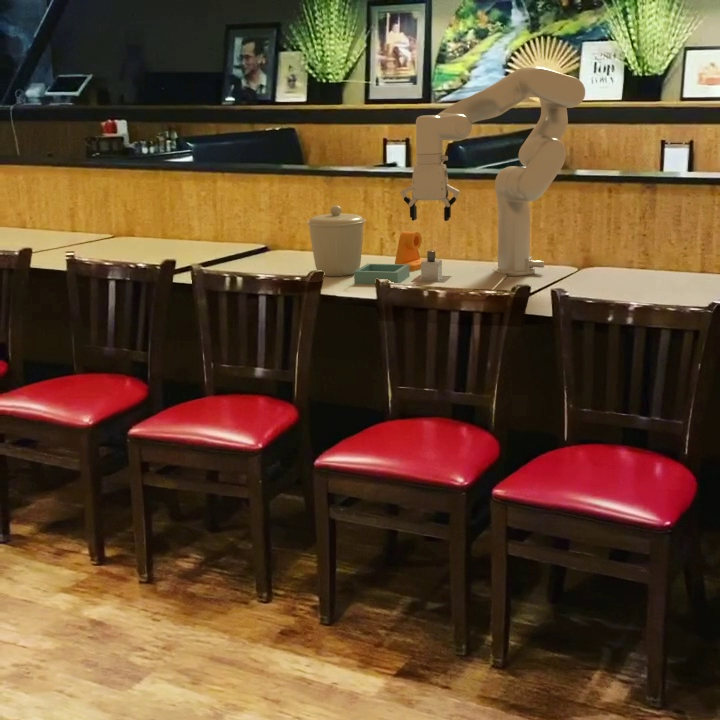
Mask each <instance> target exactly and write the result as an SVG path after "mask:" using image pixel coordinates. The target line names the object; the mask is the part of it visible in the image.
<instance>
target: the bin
mask: <svg viewBox="0 0 720 720" xmlns="http://www.w3.org/2000/svg"><path fill="white" fill-rule="evenodd" d="M410 273H411V272H410V270H409V265H407V264H395V263H366V264H364V265H363V266H360V268H359V269H358V270H356V271H354V274H353V277H354V285H358V284H359V285H376V284H375V279H376V278H378V279H388V280H390V281H391V282H394V283H400V284H401V283H403V282H404V281H405V280H407V279H408V278H409V277H410V275H411V274H410Z"/></svg>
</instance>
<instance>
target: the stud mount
mask: <svg viewBox="0 0 720 720" xmlns="http://www.w3.org/2000/svg"><path fill="white" fill-rule="evenodd" d="M452 277H453V275H442V278H441V279H439V280H438V281H434V280H421V274H420V275H418V276H416V277H415V278H414V279H412V280H411V281H410V282H411V283H413V282H414V283H439V284H440V283H441V284H442V283H443V284H444V283H446V282H447V281H448V280H450V279H451V278H452Z"/></svg>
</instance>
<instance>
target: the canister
mask: <svg viewBox="0 0 720 720" xmlns="http://www.w3.org/2000/svg"><path fill="white" fill-rule="evenodd" d="M329 211H330V213H326V214H320V215H314V216H313V217H311V218H309V220H307V221H306V224H307V225H308V227H309V234H310V236H309V237H310V241H311V247H312V248H311V249H312V253H313V254H312V255H313V260H314V266H315V268H316V271H317V270H322V271H324V272H325V275H324V276H325V277H347V276H351V275H354V271H356V270H358V269H359V268H361V264H362V263H361V260H362V251H363V239H364V227H365V225H364V224H365V223H366V221H367V220H366V218H363V217H362V216H361V215H359V214H355V213H342V207H341V206H339V205H332V206H331V207H330V208H329Z"/></svg>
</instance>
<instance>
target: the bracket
mask: <svg viewBox="0 0 720 720" xmlns="http://www.w3.org/2000/svg"><path fill="white" fill-rule="evenodd" d="M422 241H423V240H422V235H421V234H420V232H417V231H405V230H404V231H402V232H401V234H400V235H399V239H398V243H397V251H396V253H395V261H394V264H407V265H409V271H411V272H414V271H418V270H421V262H422V261H423V260H425V259H426V258H425V259H423V258H421V256H420V253H419V249H420V248H421V245H422Z"/></svg>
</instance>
